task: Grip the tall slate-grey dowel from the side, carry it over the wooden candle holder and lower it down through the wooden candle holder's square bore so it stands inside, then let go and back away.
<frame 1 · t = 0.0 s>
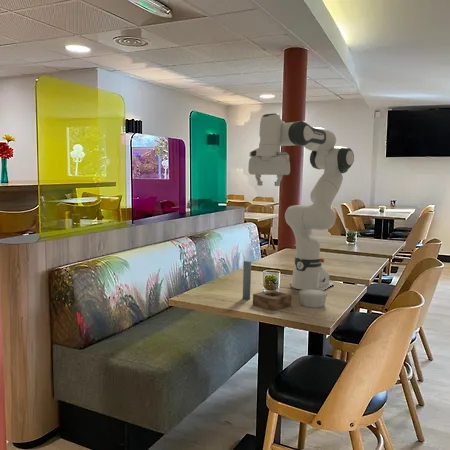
hand: (268, 185, 194), 48 cm above the table, tool pointing down, fingers open, 8 cm apart
ramekin: (312, 305, 189), on the table
wooden candle holder: (271, 305, 186), on the table
dowel: (246, 298, 196), on the table
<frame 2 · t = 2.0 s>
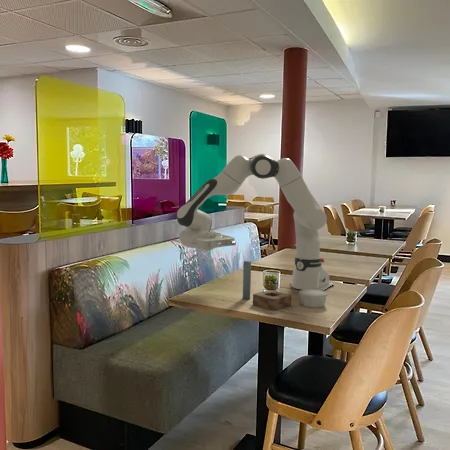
hand: (227, 244, 203), 22 cm above the table, tool horizontal, fingers open, 8 cm apart
nothing on the table moved.
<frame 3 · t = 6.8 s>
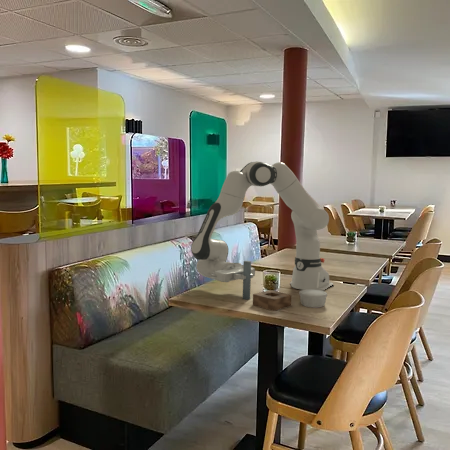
hand: (248, 276, 195), 10 cm above the table, tool horizontal, fingers closed on dowel, 3 cm apart
dowel: (246, 298, 196), on the table, touching gripper
everything else where it was.
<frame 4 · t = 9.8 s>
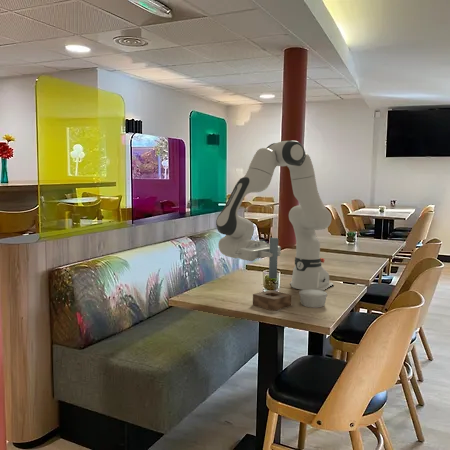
hand: (275, 254, 184), 21 cm above the table, tool horizontal, fingers closed on dowel, 3 cm apart
dowel: (272, 277, 185), point 11 cm above the table, touching gripper
everything else where it was.
when the fingers open (11 cm above the table, at t = 12.8 s): dowel drops 2 cm, resting in wooden candle holder.
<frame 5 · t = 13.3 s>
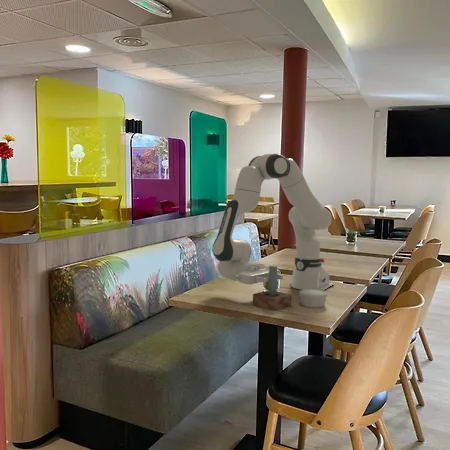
hand: (274, 279, 185), 11 cm above the table, tool horizontal, fingers open, 8 cm apart
dowel: (271, 305, 186), resting in wooden candle holder
everything else where it was.
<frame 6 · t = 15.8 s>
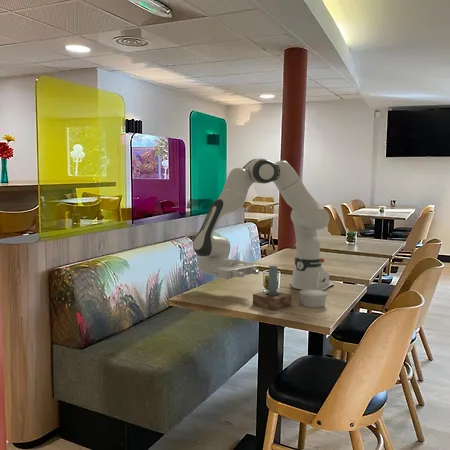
hand: (250, 273, 194), 11 cm above the table, tool horizontal, fingers open, 8 cm apart
nothing on the table moved.
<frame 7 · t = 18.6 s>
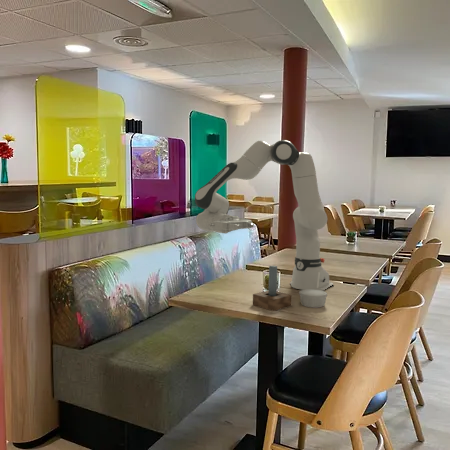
hand: (245, 226, 203), 30 cm above the table, tool horizontal, fingers open, 8 cm apart
nothing on the table moved.
at the end: dowel 0.0 cm off-centre on the wooden candle holder, point 0.0 cm above the wooden candle holder's base; dowel tilted 0°; the gripper is holding nothing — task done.
